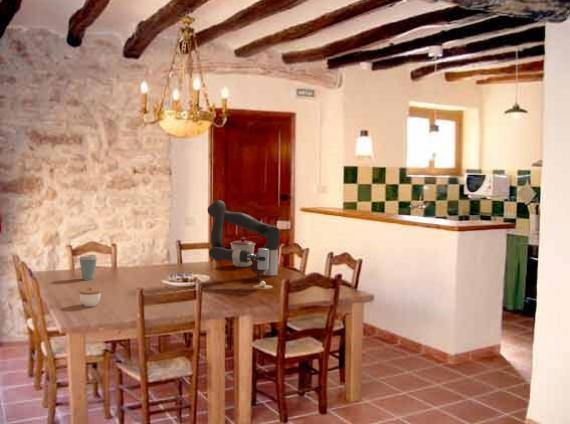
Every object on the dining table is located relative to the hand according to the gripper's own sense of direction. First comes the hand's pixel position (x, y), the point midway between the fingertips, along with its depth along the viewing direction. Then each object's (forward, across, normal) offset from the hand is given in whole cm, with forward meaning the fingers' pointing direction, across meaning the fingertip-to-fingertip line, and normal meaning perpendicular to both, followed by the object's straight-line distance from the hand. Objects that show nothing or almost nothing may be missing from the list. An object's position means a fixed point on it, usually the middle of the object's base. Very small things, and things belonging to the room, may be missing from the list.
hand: (267, 258), depth 361 cm
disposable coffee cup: (-111, -19, +19) cm, 114 cm away
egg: (-2, 0, +18) cm, 18 cm away
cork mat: (-2, 0, +18) cm, 18 cm away
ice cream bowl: (-12, +20, +18) cm, 30 cm away
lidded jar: (-70, -76, +19) cm, 105 cm away
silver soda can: (-2, 0, +7) cm, 7 cm away
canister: (-40, +65, +19) cm, 79 cm away
